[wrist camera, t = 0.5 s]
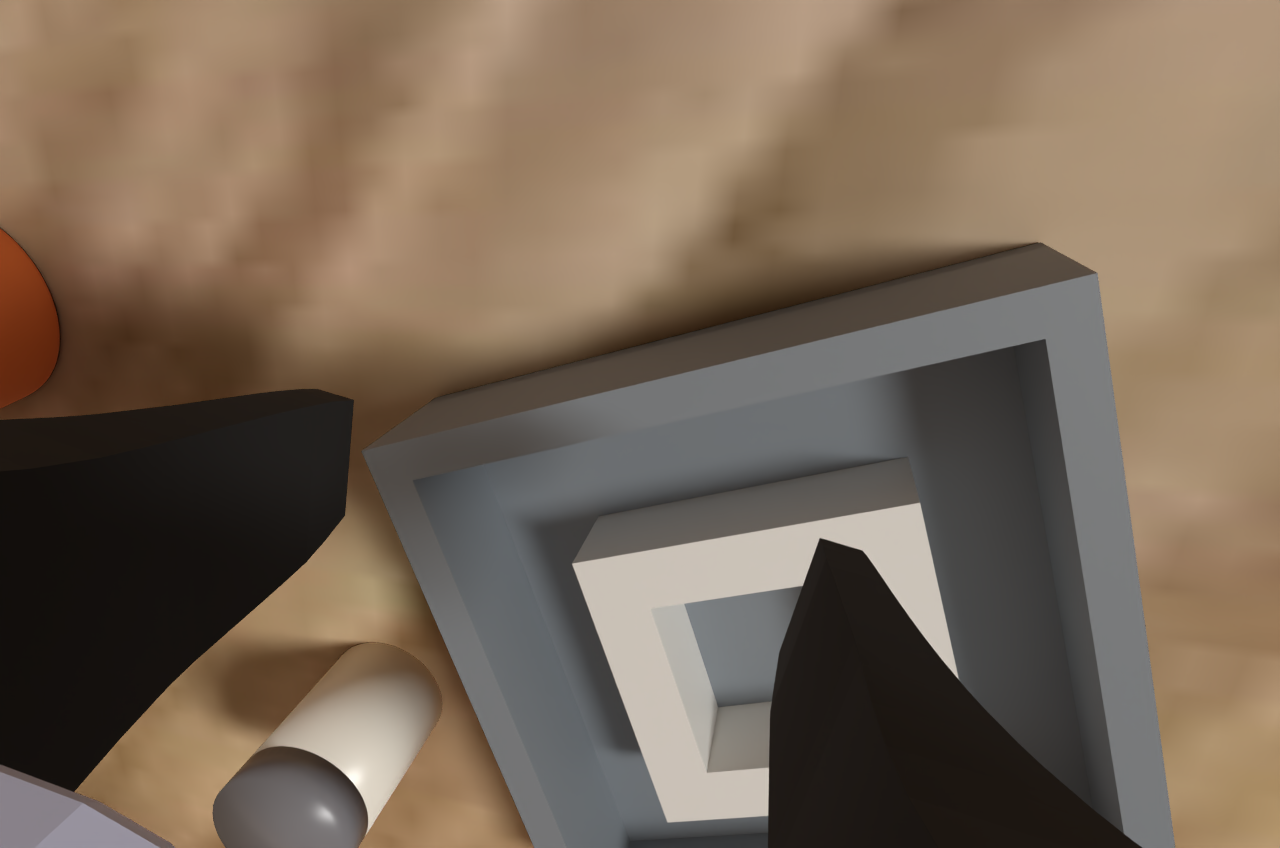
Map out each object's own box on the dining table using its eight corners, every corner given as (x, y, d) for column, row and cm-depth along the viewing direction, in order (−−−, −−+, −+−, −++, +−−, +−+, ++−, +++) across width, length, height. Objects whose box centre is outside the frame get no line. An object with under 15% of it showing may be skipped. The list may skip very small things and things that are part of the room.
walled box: (1129, 820, 23) (1189, 955, 19) (615, 850, 27) (584, 962, 24) (1040, 242, 18) (1097, 272, 14) (435, 398, 23) (361, 451, 19)
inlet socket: (967, 728, 22) (985, 801, 20) (682, 754, 24) (667, 822, 22) (907, 456, 20) (919, 502, 17) (598, 516, 22) (572, 563, 20)
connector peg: (459, 733, 27) (367, 888, 22) (362, 743, 28) (252, 893, 23) (415, 635, 26) (307, 773, 20) (316, 650, 27) (188, 784, 22)
